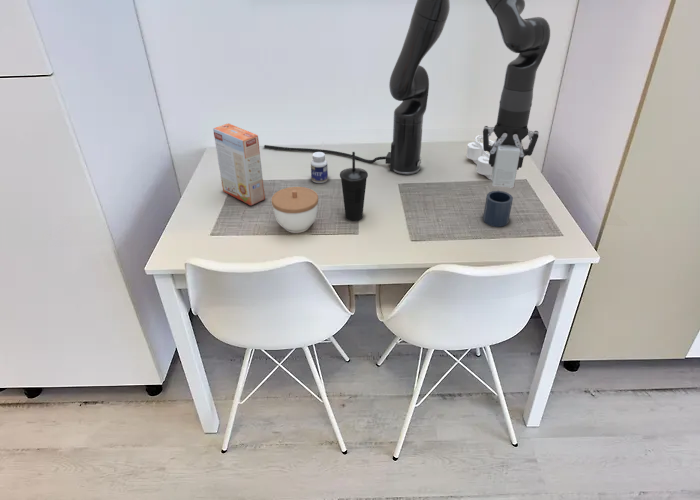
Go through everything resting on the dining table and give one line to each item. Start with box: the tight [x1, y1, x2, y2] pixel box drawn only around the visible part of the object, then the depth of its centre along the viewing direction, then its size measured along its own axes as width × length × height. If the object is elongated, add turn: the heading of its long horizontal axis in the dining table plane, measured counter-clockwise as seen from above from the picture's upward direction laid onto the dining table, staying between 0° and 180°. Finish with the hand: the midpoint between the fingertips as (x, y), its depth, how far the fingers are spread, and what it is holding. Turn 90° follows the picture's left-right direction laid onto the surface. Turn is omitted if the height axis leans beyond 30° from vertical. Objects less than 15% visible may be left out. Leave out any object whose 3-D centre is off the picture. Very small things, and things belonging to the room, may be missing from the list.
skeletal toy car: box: [465, 134, 495, 181], centre depth 175 cm, size 20×11×7 cm, turn 7°
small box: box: [491, 144, 520, 189], centre depth 140 cm, size 8×6×10 cm
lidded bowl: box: [270, 186, 319, 234], centre depth 146 cm, size 13×13×11 cm
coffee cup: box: [482, 190, 514, 228], centre depth 148 cm, size 7×7×8 cm
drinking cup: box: [339, 151, 369, 222], centre depth 147 cm, size 8×8×20 cm
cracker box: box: [212, 122, 266, 206], centre depth 158 cm, size 14×6×21 cm, turn 47°
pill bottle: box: [310, 152, 329, 184], centre depth 169 cm, size 5×5×9 cm
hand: (504, 166), depth 141 cm, fingers closed on small box, 6 cm apart
